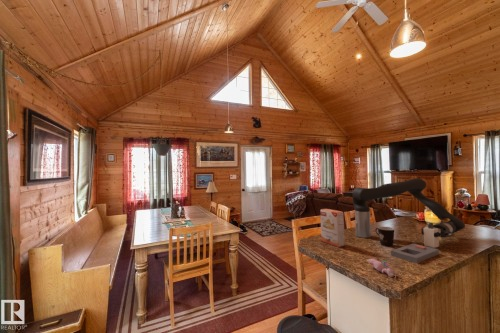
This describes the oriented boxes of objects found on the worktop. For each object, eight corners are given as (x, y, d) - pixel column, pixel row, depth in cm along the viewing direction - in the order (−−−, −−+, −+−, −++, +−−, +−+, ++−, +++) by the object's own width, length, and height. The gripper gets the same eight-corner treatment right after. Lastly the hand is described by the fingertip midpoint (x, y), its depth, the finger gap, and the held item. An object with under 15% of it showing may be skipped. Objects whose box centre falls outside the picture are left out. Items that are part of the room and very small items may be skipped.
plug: (434, 247, 123) (433, 224, 123) (424, 245, 127) (423, 222, 128) (439, 246, 125) (437, 223, 126) (428, 243, 130) (427, 221, 130)
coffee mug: (398, 247, 128) (397, 230, 128) (381, 247, 129) (380, 230, 130) (389, 241, 139) (388, 225, 139) (374, 241, 141) (373, 225, 141)
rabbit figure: (402, 280, 93) (372, 261, 107) (404, 267, 92) (373, 250, 106) (392, 283, 91) (362, 264, 105) (393, 270, 90) (363, 252, 104)
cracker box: (320, 241, 143) (319, 209, 144) (327, 240, 146) (326, 208, 147) (338, 247, 131) (336, 212, 132) (345, 245, 134) (343, 211, 134)
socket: (417, 263, 106) (416, 256, 106) (391, 255, 116) (390, 249, 116) (438, 254, 116) (438, 247, 116) (413, 247, 127) (413, 242, 127)
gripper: (427, 221, 140) (414, 225, 131) (457, 225, 127) (444, 230, 119) (428, 233, 139) (414, 237, 131) (458, 238, 127) (444, 244, 119)
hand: (428, 234), depth 125 cm, fingers closed on plug, 5 cm apart
